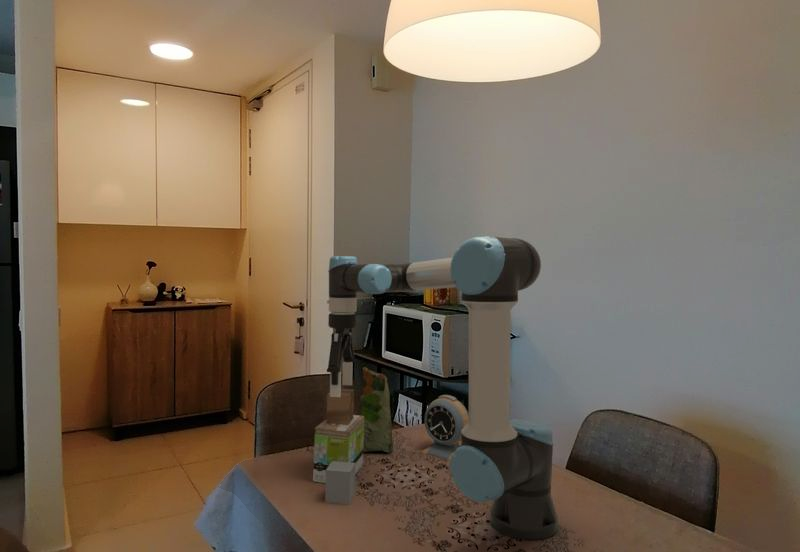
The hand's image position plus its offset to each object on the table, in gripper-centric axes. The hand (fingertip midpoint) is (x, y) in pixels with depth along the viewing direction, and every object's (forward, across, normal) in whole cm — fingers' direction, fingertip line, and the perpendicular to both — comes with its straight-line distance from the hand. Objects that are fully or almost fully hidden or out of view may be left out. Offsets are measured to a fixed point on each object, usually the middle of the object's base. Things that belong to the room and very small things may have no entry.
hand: (341, 390), depth 154 cm
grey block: (+23, +15, +4) cm, 28 cm away
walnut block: (+8, 0, 0) cm, 8 cm away
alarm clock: (+23, -22, +28) cm, 42 cm away
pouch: (+23, -20, +6) cm, 31 cm away
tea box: (+23, 0, 0) cm, 23 cm away
